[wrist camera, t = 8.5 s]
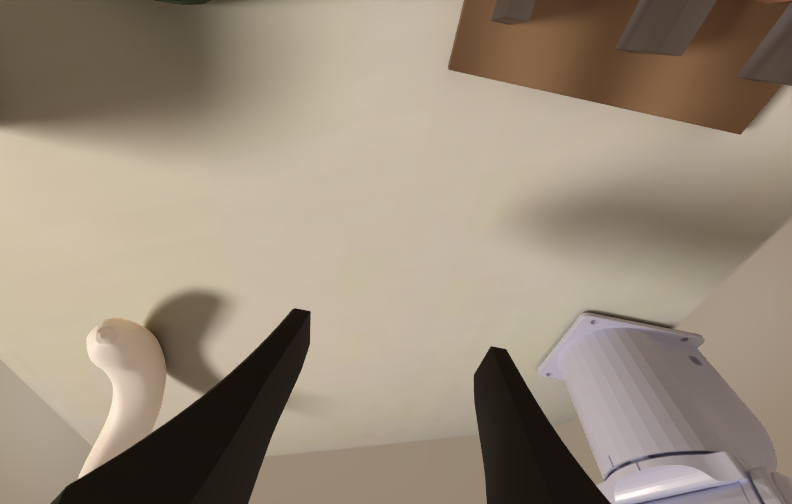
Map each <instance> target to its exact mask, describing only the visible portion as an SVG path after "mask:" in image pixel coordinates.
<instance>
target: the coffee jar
mask: <svg viewBox="0 0 792 504" xmlns="http://www.w3.org/2000/svg"><path fill="white" fill-rule="evenodd" d="M156 1H162V2H168V3H175V4H182V5H195V4H203V3H207V2H209V1H211V0H156Z"/></svg>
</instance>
